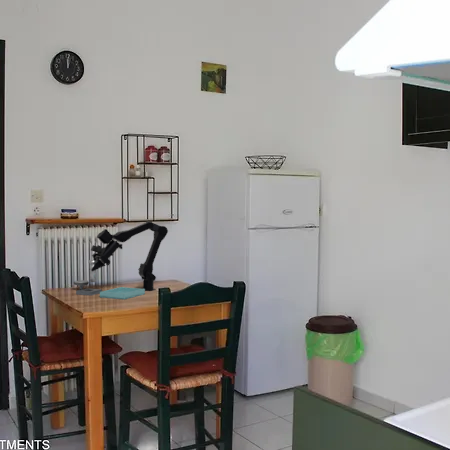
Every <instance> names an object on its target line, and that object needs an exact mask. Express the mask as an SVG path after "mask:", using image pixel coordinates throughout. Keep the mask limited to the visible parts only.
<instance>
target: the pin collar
mask: <svg viewBox="0 0 450 450" xmlns="http://www.w3.org/2000/svg"><path fill="white" fill-rule="evenodd" d="M101 291H103V290H102V289H100V288H99V289H98V288H83V289H82V290H80V289H78V290H76V291H75V295H80V296H94V295H95V296H96V295H98V294H99V295H100V292H101Z"/></svg>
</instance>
